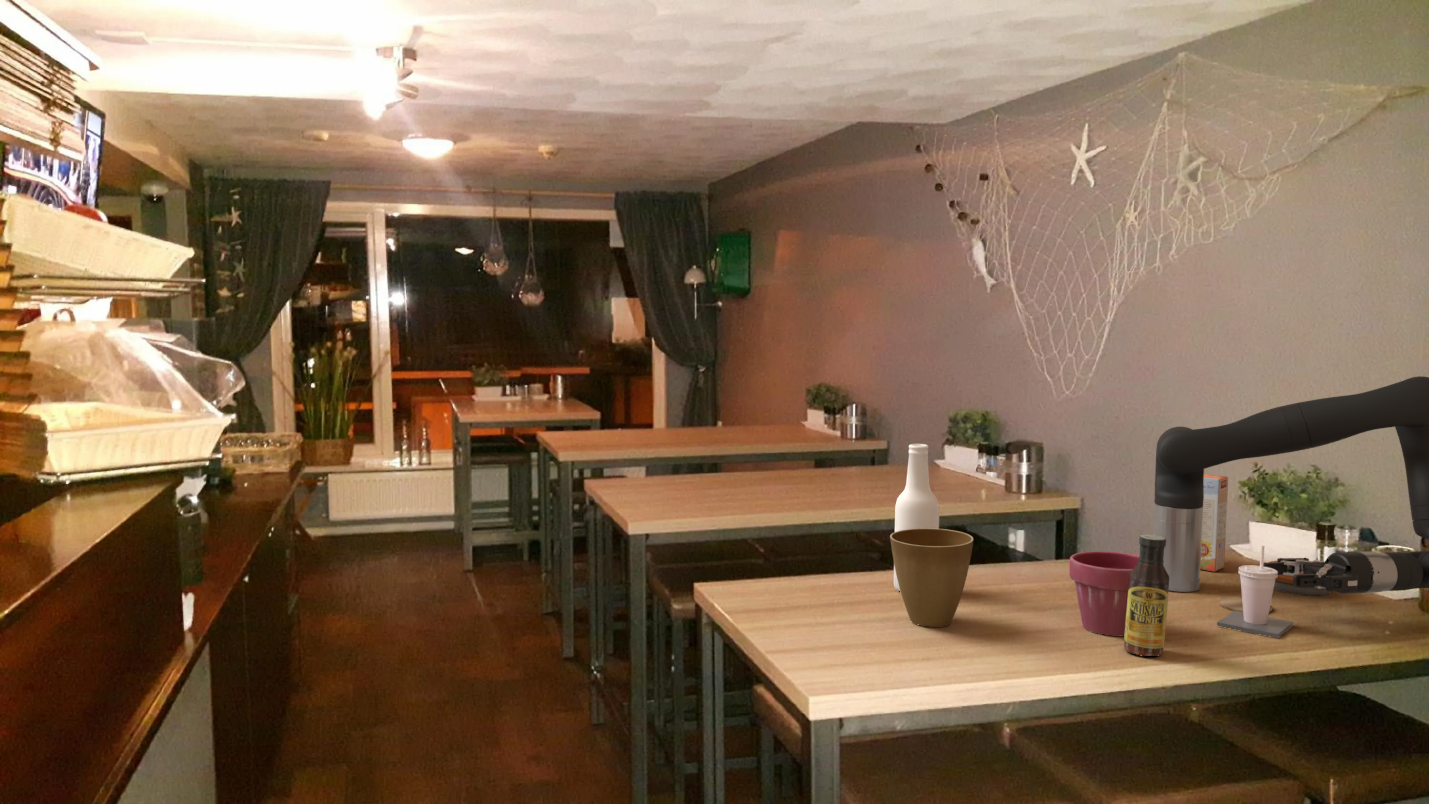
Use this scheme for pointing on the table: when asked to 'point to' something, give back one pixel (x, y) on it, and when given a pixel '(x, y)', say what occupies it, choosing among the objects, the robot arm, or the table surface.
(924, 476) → the alcohol
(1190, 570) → the robot arm
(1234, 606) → the cork trivet
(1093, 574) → the plant pot
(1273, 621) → the slate coaster
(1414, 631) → the table surface
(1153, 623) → the sauce bottle
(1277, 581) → the pie
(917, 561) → the plant pot
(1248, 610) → the smoothie
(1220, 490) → the cracker box
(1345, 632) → the table surface
